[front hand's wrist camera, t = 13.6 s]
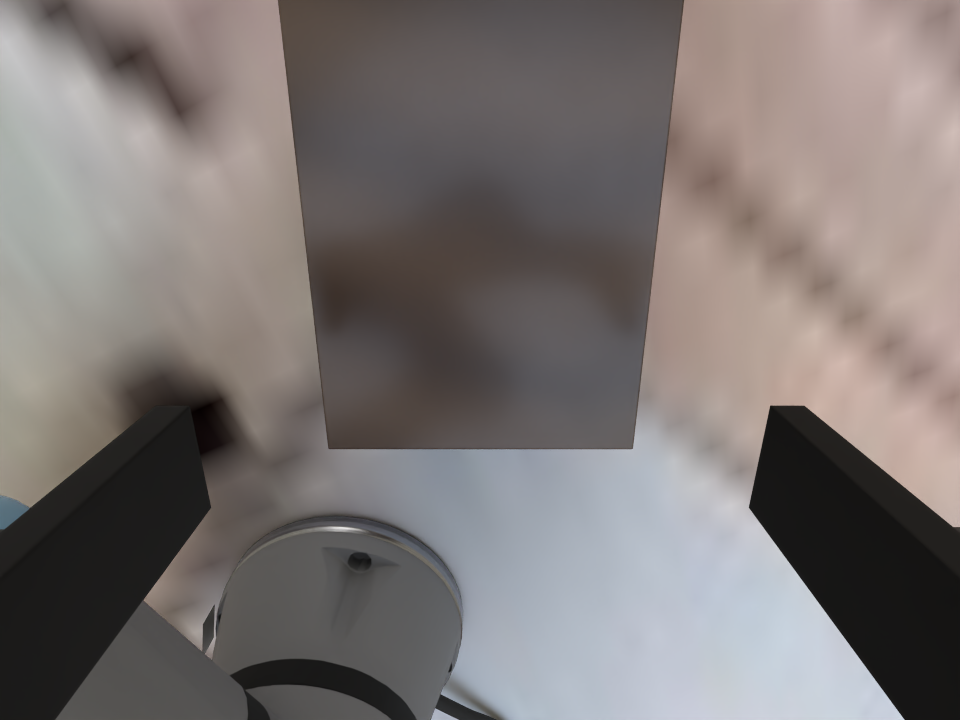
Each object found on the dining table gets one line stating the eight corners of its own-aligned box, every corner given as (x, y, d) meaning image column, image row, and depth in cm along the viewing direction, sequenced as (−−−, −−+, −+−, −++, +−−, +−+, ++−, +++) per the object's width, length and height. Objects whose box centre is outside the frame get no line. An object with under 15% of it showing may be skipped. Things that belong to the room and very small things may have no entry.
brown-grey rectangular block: (347, -95, 23) (246, -274, 13) (614, -94, 23) (716, -274, 13) (378, 347, 30) (327, 449, 20) (582, 348, 30) (633, 450, 20)
